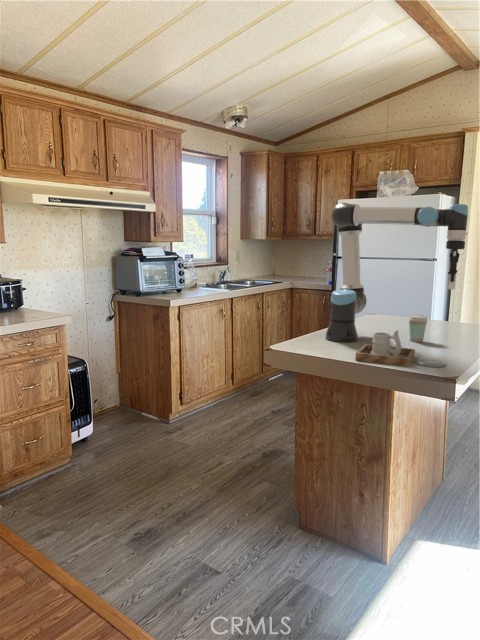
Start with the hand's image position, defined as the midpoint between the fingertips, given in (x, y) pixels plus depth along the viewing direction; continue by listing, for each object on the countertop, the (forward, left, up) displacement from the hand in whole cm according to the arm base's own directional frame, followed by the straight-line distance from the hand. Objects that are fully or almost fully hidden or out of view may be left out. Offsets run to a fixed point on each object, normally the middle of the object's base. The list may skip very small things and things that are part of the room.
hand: (451, 288), depth 216 cm
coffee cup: (-13, +4, -27) cm, 30 cm away
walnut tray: (-21, -39, -27) cm, 52 cm away
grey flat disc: (-4, -40, -27) cm, 48 cm away
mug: (-21, -39, -27) cm, 52 cm away
